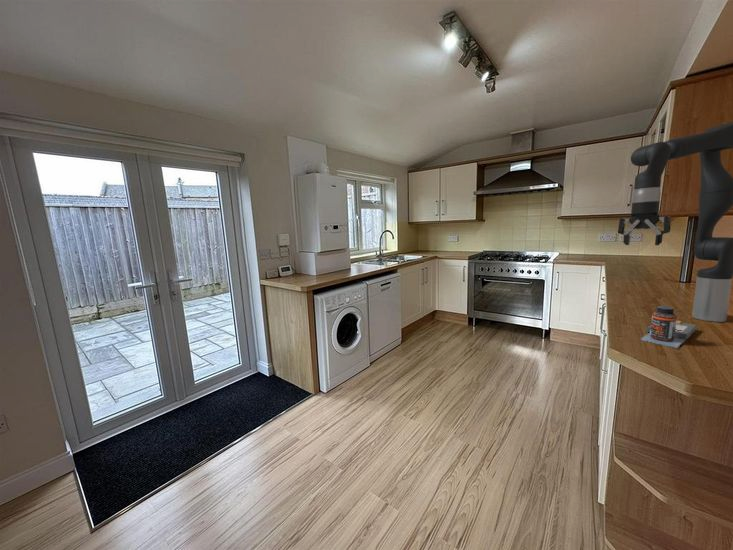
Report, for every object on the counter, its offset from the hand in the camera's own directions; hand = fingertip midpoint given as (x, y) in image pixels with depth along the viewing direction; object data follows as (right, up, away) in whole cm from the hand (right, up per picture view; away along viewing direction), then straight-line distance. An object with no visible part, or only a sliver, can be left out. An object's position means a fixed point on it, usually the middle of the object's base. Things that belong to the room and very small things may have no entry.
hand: (641, 245), depth 111 cm
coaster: (-2, -34, -10) cm, 36 cm away
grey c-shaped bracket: (+11, -32, -1) cm, 34 cm away
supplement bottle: (-2, -34, -10) cm, 35 cm away
